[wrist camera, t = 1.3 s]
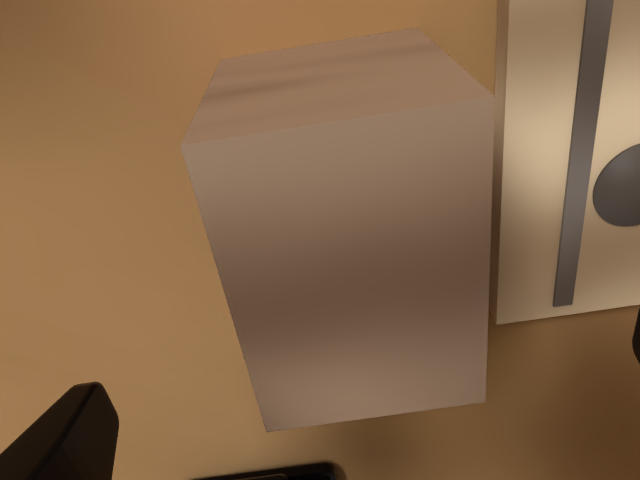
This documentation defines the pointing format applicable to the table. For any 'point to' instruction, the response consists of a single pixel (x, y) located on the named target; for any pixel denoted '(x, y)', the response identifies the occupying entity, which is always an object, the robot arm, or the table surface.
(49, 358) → the table surface
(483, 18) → the table surface
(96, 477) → the robot arm
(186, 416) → the table surface
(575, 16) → the guide board
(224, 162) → the upright wooden block
